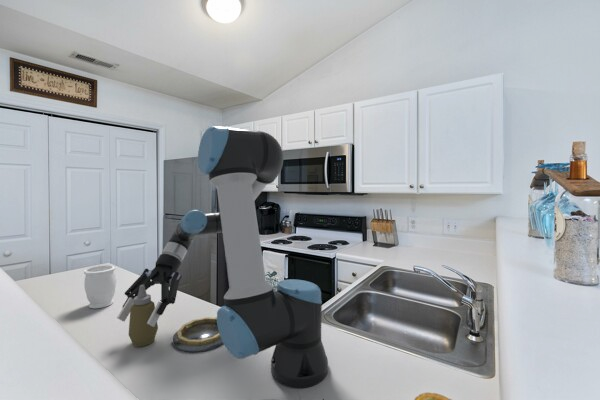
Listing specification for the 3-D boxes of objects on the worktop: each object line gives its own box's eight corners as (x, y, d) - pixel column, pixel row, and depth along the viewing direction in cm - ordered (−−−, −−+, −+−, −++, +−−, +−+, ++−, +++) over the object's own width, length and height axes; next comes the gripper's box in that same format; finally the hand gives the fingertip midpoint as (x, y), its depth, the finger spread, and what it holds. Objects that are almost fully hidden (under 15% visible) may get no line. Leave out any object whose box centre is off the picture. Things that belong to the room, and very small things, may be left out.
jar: (122, 299, 120) (121, 265, 119) (103, 310, 110) (101, 272, 109) (99, 298, 121) (98, 264, 120) (78, 309, 111) (76, 272, 110)
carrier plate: (243, 331, 94) (243, 324, 94) (198, 359, 79) (197, 351, 79) (206, 317, 104) (206, 311, 104) (160, 341, 89) (160, 333, 89)
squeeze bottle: (125, 351, 83) (122, 291, 82) (133, 336, 91) (131, 282, 90) (155, 347, 85) (153, 288, 84) (160, 333, 93) (159, 279, 92)
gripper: (204, 266, 98) (173, 332, 84) (151, 261, 105) (114, 321, 91) (194, 255, 93) (159, 323, 79) (138, 250, 100) (97, 312, 86)
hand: (135, 322), depth 85 cm, fingers open, 11 cm apart
